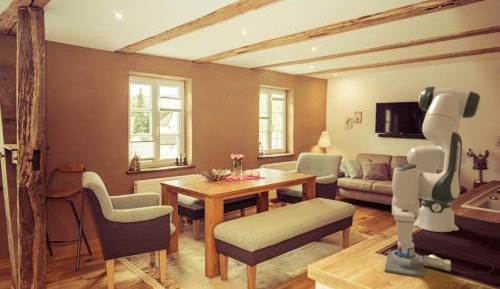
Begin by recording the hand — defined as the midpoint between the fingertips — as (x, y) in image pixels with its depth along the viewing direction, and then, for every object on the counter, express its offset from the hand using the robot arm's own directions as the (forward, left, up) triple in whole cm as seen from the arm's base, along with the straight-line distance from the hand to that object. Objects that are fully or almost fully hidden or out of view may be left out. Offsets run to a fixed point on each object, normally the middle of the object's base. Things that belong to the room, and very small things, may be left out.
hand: (405, 248), depth 123 cm
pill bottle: (0, 0, -5) cm, 5 cm away
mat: (0, 0, -6) cm, 6 cm away
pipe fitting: (-3, +10, -6) cm, 13 cm away
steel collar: (0, 0, -6) cm, 6 cm away
